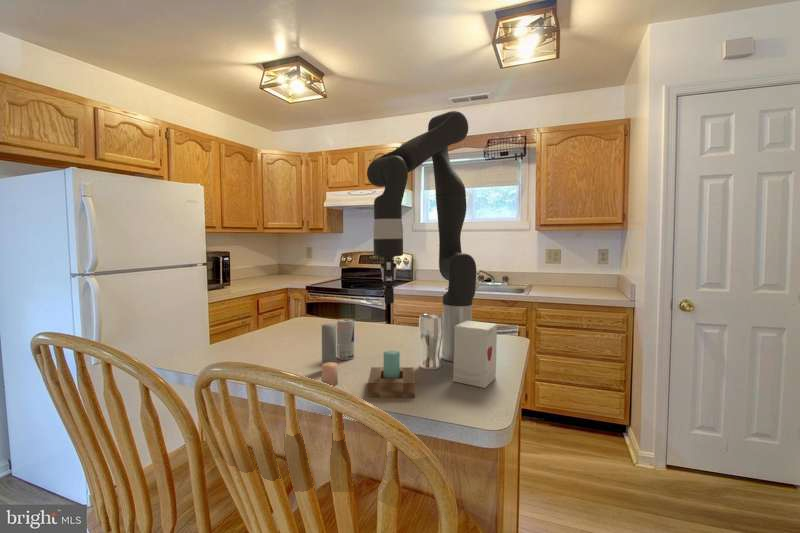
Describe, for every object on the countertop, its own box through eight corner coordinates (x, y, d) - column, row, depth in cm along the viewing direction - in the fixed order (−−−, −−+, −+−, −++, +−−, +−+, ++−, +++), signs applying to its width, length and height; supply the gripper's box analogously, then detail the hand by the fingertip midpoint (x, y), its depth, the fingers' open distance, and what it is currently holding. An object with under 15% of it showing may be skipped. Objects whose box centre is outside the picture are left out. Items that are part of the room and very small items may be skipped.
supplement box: (485, 389, 95) (486, 329, 94) (452, 382, 99) (453, 325, 98) (496, 378, 102) (498, 323, 101) (465, 372, 107) (466, 319, 106)
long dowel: (337, 368, 110) (337, 323, 109) (335, 373, 106) (334, 326, 105) (323, 368, 110) (323, 323, 109) (320, 373, 106) (320, 326, 105)
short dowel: (338, 381, 100) (338, 362, 99) (336, 386, 96) (336, 367, 95) (323, 381, 100) (323, 362, 99) (320, 386, 96) (320, 367, 95)
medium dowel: (399, 385, 97) (399, 350, 96) (399, 391, 93) (399, 355, 92) (383, 385, 97) (383, 350, 96) (383, 391, 93) (383, 355, 92)
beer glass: (444, 364, 114) (445, 314, 113) (439, 371, 107) (439, 319, 106) (422, 361, 116) (422, 313, 115) (415, 368, 110) (415, 317, 109)
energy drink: (355, 355, 122) (355, 318, 121) (352, 360, 117) (352, 322, 116) (339, 355, 122) (339, 318, 122) (335, 360, 117) (334, 321, 116)
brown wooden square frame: (413, 380, 100) (413, 367, 100) (414, 397, 89) (414, 382, 89) (371, 380, 100) (371, 367, 100) (368, 397, 89) (367, 382, 89)
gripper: (404, 237, 89) (404, 305, 91) (401, 237, 104) (402, 296, 105) (372, 237, 89) (373, 305, 90) (374, 237, 103) (375, 296, 105)
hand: (389, 300), depth 98 cm, fingers open, 8 cm apart
